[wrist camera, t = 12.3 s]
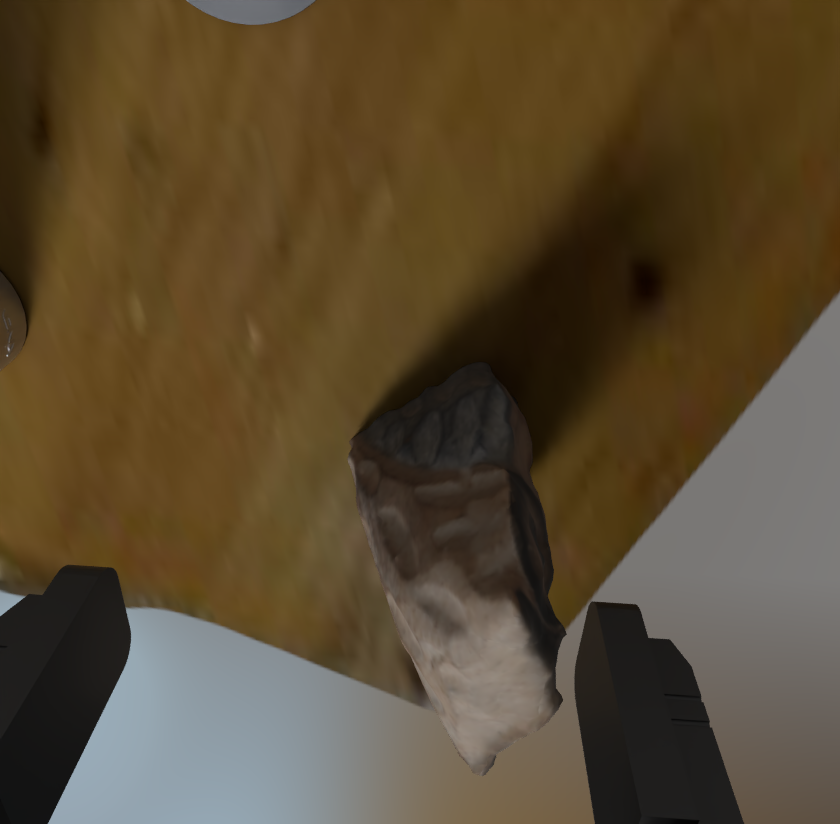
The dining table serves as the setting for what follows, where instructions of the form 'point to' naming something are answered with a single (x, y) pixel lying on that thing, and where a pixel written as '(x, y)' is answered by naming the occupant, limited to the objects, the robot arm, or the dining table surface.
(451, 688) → the stone
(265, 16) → the coaster
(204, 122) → the dining table surface
